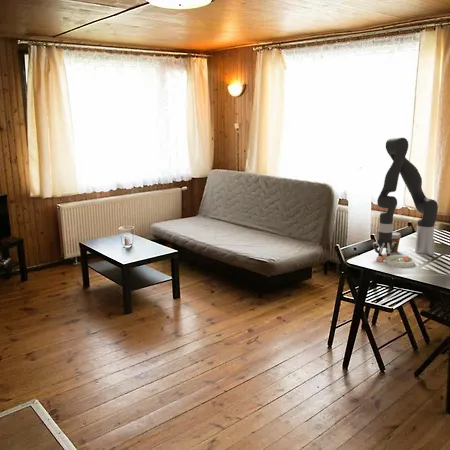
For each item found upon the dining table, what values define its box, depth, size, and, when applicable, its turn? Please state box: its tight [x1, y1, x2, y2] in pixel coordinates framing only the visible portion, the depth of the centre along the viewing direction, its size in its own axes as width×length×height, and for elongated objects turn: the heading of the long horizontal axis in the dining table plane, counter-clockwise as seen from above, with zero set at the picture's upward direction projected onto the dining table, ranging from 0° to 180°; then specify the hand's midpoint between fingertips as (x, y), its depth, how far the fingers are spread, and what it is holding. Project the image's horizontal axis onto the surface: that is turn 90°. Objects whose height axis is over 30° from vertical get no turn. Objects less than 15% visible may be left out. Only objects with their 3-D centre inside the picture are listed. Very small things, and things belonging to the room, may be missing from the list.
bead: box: [381, 253, 387, 260], centre depth 270 cm, size 4×4×4 cm
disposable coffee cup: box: [385, 231, 402, 254], centre depth 282 cm, size 10×10×12 cm
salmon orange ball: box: [403, 255, 410, 262], centre depth 262 cm, size 4×4×4 cm
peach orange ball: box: [375, 255, 384, 263], centre depth 265 cm, size 4×4×4 cm
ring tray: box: [385, 254, 415, 268], centre depth 261 cm, size 15×15×3 cm
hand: (383, 259), depth 270 cm, fingers closed on bead, 3 cm apart
